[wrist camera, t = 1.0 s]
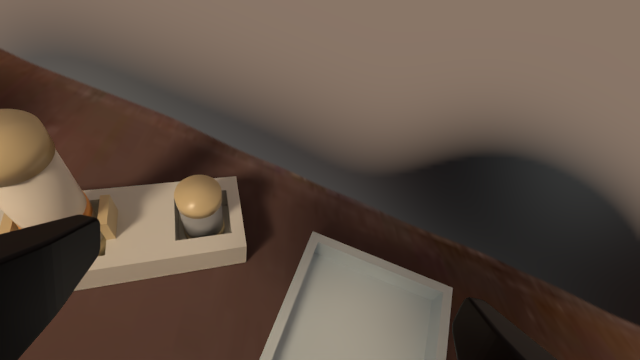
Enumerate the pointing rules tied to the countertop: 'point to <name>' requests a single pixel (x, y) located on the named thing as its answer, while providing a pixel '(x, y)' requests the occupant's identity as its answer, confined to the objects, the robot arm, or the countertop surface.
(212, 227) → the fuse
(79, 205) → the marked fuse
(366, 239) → the countertop surface
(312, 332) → the tray
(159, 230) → the fuse block
